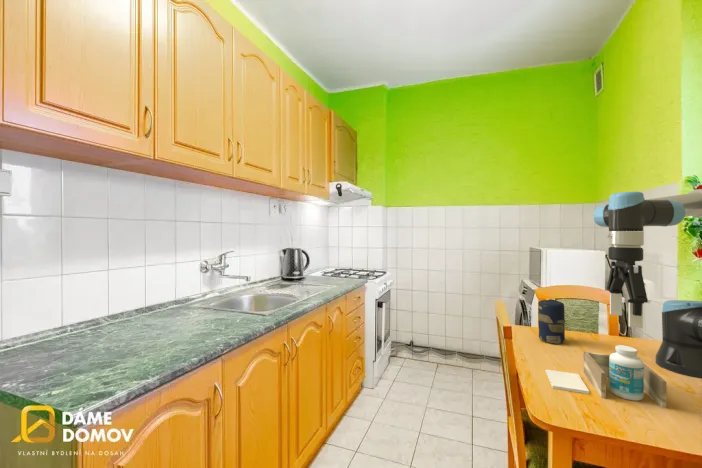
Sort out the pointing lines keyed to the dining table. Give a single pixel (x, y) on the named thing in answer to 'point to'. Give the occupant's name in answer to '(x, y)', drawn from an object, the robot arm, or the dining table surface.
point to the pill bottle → (626, 373)
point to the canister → (551, 321)
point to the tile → (566, 381)
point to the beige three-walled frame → (599, 370)
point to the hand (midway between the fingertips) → (624, 320)
